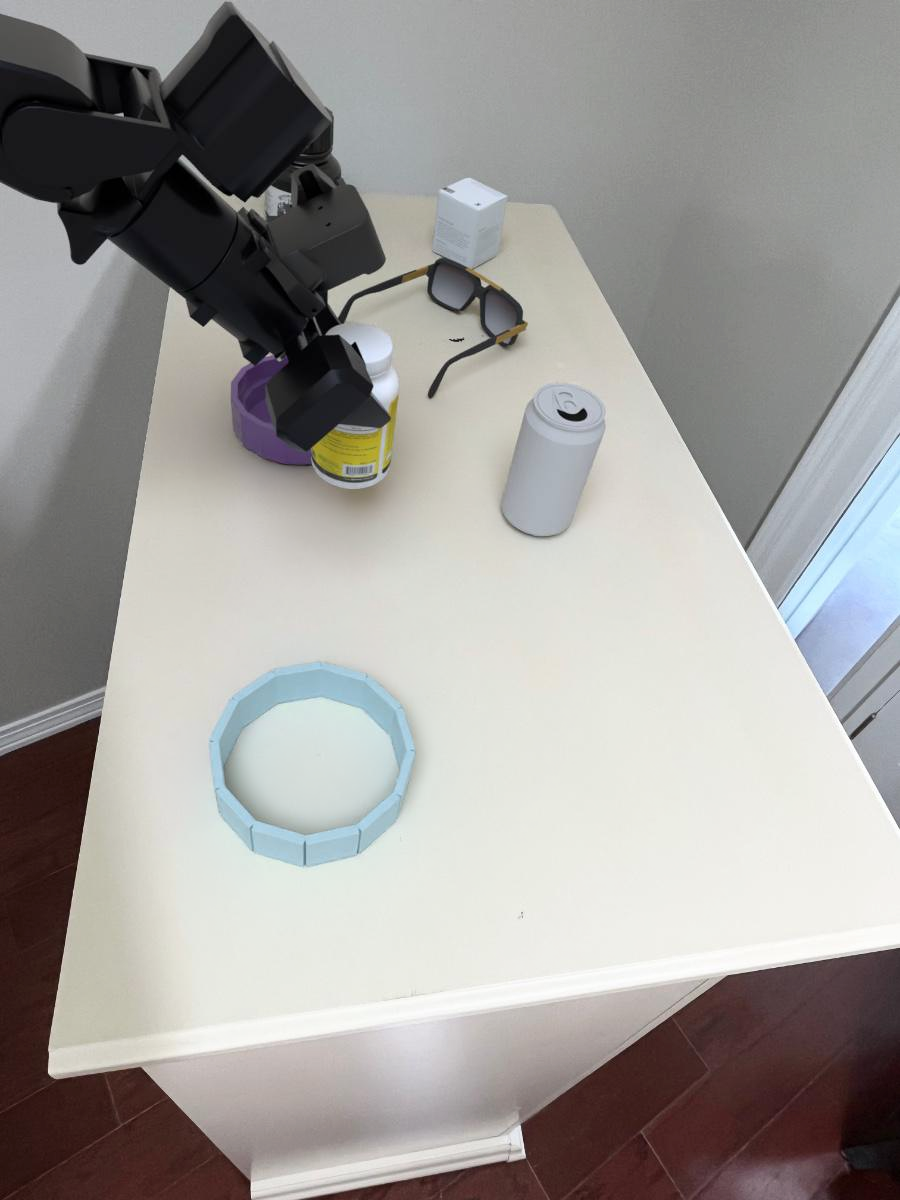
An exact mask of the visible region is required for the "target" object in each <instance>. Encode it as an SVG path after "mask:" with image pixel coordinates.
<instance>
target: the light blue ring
mask: <svg viewBox="0 0 900 1200" xmlns="http://www.w3.org/2000/svg"><path fill="white" fill-rule="evenodd" d="M319 697H321V698H324V699H328V700H331V701H334V702H338V703H343V704H345V705H349V706H352V707H356V708H358V709H361V710H362V711H363V712H365V713H366V714H367V715H368V716H369V717H370V718H371V719H372V720H373V721H374V722H375V723H376V724H377V725H378V726H379V727H381V729H382V730H383V731H385V732H386V733H387V734H388V736H389V737H390V739H391V744H392V747H393V751H394V754H395V759H396V761H397V762H396V763H397V766H398V769H399V771H398V774H397V777H396V781H395V784H394V787H393V791H392V793H390V794H389V795H388V796H387V797H385V798H384V799H383V800H382V801H381V802H380V803H379V804H378V805H376V806H375V808H373V809H372V810H371V811H370V812H369V813H368V814H366V815H365V816H364V817H363V818H362V819H360V820H359V821H358V822H357V823H355V824H351V825H347V826H342V827H337V828H333V829H328V830H324V831H323V830H322V831H319V832H314V833H309V834H307V835H306V834H303V833H300V832H296V831H294V830H290V829H286V828H283V827H279V826H276V825H273V824H268V823H265V822H262V821H259V820H257V819H256V818H254V816H253V815H252V814H251V813H250V812H249V810H247V809H246V807H244V805H243V804H242V803H241V802H240V801H239V800H238V799H237V797H236V796H235V795H233V793H232V792H231V791H230V790H229V789H228V788H227V785H226V778H225V777H226V776H225V769H224V768H225V765H226V763H227V762H228V759H229V757H230V755H231V752H232V750H233V748H234V746H235V744H236V742H237V740H238V738H239V736H240V735H241V732H242V730H243V729H244V728H245V727H247V726H248V725H250V724H251V723H252V722H254V721H255V720H257V719H258V718H259V717H260V716H262V715H264V714H265V713H266V712H267V711H269V710H271V709H272V708H273V707H274V706H276V705H277V704H284V703H290V702H295V701H303V700H309V699H312V698H319ZM413 739H414V738H413V735H412V732H411V729H410V724H409V722H408V719H407V715H406V711H405V709H404V707H402V704H401V703H400V702H399V701H398V700H397V699H396V698H394V696H393V695H392V694H390V692H388V691H387V690H386V689H385V688H384V687H383V686H382V685H381V684H380V683H378V681H376V680H375V679H374V678H373V677H372V676H371V675H368V674H367V673H365V672H362V671H358V670H354V669H351V668H347V667H344V666H340V665H336V664H333V663H329V662H326V661H322V662H321V661H315V662H307V663H301V664H295V665H288V666H282V667H276V668H273V671H272V670H271V669H270V670H269V671H267V672H266V673H264V674H263V675H261V676H259V678H257V679H255V680H254V681H252V682H251V683H249V684H248V685H246V686H245V687H244V688H242V689H241V690H239V691H237V693H235V694H233V695H232V696H231V698H229V699H228V702H227V704H226V705H225V708H224V709H223V711H222V713H221V716H220V717H219V719H218V721H217V723H216V725H215V727H214V729H213V731H212V733H211V735H210V737H209V739H208V741H209V742H208V749H209V757H210V766H211V773H212V774H211V775H212V782H213V790H214V794H215V800H216V805H217V809H218V813H219V814H220V818H222V820H223V821H224V822H225V823H226V824H227V825H228V826H229V827H230V829H231V830H232V831H233V832H234V834H236V836H237V837H238V838H239V839H240V840H241V841H242V842H243V843H244V844H245V846H247V848H248V849H249V850H250V851H253V852H254V853H253V854H255V855H256V854H257V855H260V856H263V857H266V858H270V859H273V860H277V861H279V862H280V861H281V862H284V863H286V864H291V865H294V866H297V867H301V868H304V867H306V868H309V867H314V866H318V865H322V864H326V863H331V862H335V861H339V860H340V861H341V860H343V859H344V860H345V859H348V858H352V857H353V858H354V857H356V856H357V855H358V854H359V855H360V854H362V853H363V852H364V851H365V850H366V849H367V848H368V847H369V846H371V845H372V844H373V843H374V842H375V841H376V840H377V839H379V837H380V836H381V835H383V834H384V833H385V832H386V831H387V830H388V829H390V827H391V826H393V825H394V824H395V823H396V820H398V818H399V814H400V811H401V808H402V806H403V805H402V804H403V801H404V798H405V794H406V792H407V788H408V784H409V782H410V778H411V773H412V769H413V765H414V761H415V756H416V746H415V743H414V740H413Z"/></svg>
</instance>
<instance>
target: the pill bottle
mask: <svg viewBox="0 0 900 1200" xmlns="http://www.w3.org/2000/svg"><path fill="white" fill-rule="evenodd" d="M326 335H340V336H341V337H342V338H344V339H345V340H346V341H347V342H348V343H349V344H350V345H352V344H353V343H354V342H356V343H357V346H358V348H359V350H360V352H361V355H362V357H363V359H364V362H365V364H366V369H367V372H368V374H369V376H370V379H371V381H372V383H373V385H374V387H373V389H372V393H373V394H374V395H375V396H376V398H377V399H378V400H379V401H380V403H381V404H382V405H383V407H384V408H385V409H386V411H387V412H388V413H389V415H390V417H391V420H390V421H389V422H388V423H387V424H386V425H385V426H383V427H382V428H373V427H363V426H353V425H343V424H339V425H337V426H336V427H335V428H334V429H333V430H332V431H331V432H329V433H328V434H327V435H326V436H325V437H324V438H322V439H321V440H320V441H319V442H318V443H317V444H315V445H314V446H313V447H312V448H311V461H312V464H311V465H312V467H313V470H314V471H315V472H316V474H317V475H318V476H319V477H320V478H321V479H323V481H325V482H327V483H328V484H331V485H333V486H335V487H338V488H341V489H346V490H358V489H365V488H369V487H371V486H375V485H376V484H378V483H379V482H381V481H382V480H383V479H384V478H385V477H386V476H387V474H388V473H389V471H390V468H391V463H392V454H393V446H394V437H395V430H396V420H397V419H396V418H397V412H398V411H397V410H398V403H399V394H400V379H399V375H398V372H397V371H396V369H395V367H394V366H393V365H392V362H393V352H394V344H393V343H394V342H393V341H392V338H391V337H390V335H389V334H388V333H386V331H385V330H383V329H381V328H379V327H377V326H375V325H372V324H369V323H364V322H363V323H362V322H345V323H344V324H340V325H337V326H335V327H333V328H331V329H330V330H329V331H328V332H327V333H326Z"/></svg>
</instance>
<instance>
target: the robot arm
mask: <svg viewBox="0 0 900 1200" xmlns="http://www.w3.org/2000/svg"><path fill="white" fill-rule="evenodd" d="M324 106H325V105H324V104H323V103H322V101H321V100H320V99H319V96H318V95H317V94H316V93H315V91H314V90H313V89H312V87H311V86H310V85H309V83H308V82H307V81H306V79H305V78H304V77H303V75H302V74H301V73H300V72H299V70H298V69H297V68H296V66H295V65H294V64H293V63H292V62H291V60H290V59H289V58H288V57H287V55H286V54H285V53H284V51H283V50H282V49H281V48H280V47H279V46H278V45H277V43H276V42H275V41H274V40H272V41H271V42H270V41H269V40H268V39H267V38H266V37H265V36H264V35H263V33H262V32H261V31H260V30H259V29H258V28H257V27H256V26H255V25H254V24H252V22H251V21H249V20H247V19H246V18H245V17H244V15H243V14H242V13H241V12H240V11H239V10H238V8H237V7H236V6H235V5H234V3H233V2H231V1H225V0H224V2H223V3H222V4H221V5H220V7H219V8H218V9H217V10H216V11H215V13H214V14H212V16H211V17H210V18H209V20H208V22H207V24H206V25H205V28H204V30H203V32H202V34H201V36H200V37H199V38H198V40H196V42H195V43H194V44H193V46H192V47H191V48H190V49H189V50H188V52H187V53H186V54H185V55H184V56H183V57H182V58H181V60H180V61H179V62H178V63H177V64H176V66H175V67H174V68H173V69H172V70H171V71H170V72H169V73H168V74H167V76H166V77H165V78H164V79H162V76H161V73H160V72H159V70H158V69H157V68H156V67H154V66H150V65H145V64H140V63H136V62H130V61H126V60H121V59H116V58H111V57H106V56H102V55H101V56H100V55H96V54H91V53H86V52H84V51H82V50H81V48H79V46H77V45H76V44H75V43H74V42H73V41H72V40H71V39H69V38H67V37H66V36H64V35H63V34H61V33H60V32H58V30H55V29H53V28H50V27H48V26H44V25H42V24H39V23H34V22H32V21H28V20H25V19H21V18H17V17H13V16H10V15H6V14H4V13H0V183H1V184H3V185H5V186H7V187H9V188H10V189H12V190H14V191H16V192H18V193H20V194H22V195H24V196H27V197H29V198H32V199H34V200H37V201H42V202H47V203H53V204H56V211H57V216H58V217H59V219H60V221H61V223H62V225H63V227H64V229H65V232H66V236H67V240H68V245H69V255H70V260H71V262H72V263H74V264H76V265H78V266H81V265H85V264H86V263H87V262H88V261H89V259H90V258H91V257H92V256H94V254H95V253H96V252H97V251H98V250H99V248H100V247H101V246H102V245H103V244H104V243H105V242H106V241H107V240H108V241H109V242H111V243H112V244H113V245H115V246H116V247H117V248H118V249H120V250H122V252H124V253H125V254H126V255H128V256H129V257H130V258H132V259H133V260H134V261H135V262H137V263H138V264H139V265H141V266H142V267H143V268H144V269H146V270H147V271H148V272H150V273H151V274H152V275H153V276H155V277H156V278H157V279H159V280H160V281H161V282H163V283H164V284H165V285H167V286H168V287H169V288H170V289H171V290H173V291H174V292H175V293H177V294H178V295H179V296H181V297H182V298H183V299H185V304H186V307H187V311H188V316H189V318H190V319H192V320H193V321H195V322H196V323H197V324H198V325H200V326H201V327H202V328H204V327H206V325H207V324H208V323H210V322H211V321H213V322H215V323H216V324H217V325H218V326H219V327H221V328H222V329H224V330H225V332H227V333H228V334H230V335H231V336H233V337H234V338H235V339H236V340H237V341H238V344H239V349H240V351H241V354H242V358H244V359H245V360H246V361H248V362H249V364H250V363H252V364H253V365H254V366H256V365H257V364H258V363H259V362H260V361H261V360H262V359H263V358H265V357H267V356H269V354H271V356H272V355H274V358H275V359H276V360H277V361H279V362H280V361H282V360H283V359H284V358H285V357H286V356H287V359H288V361H289V362H288V363H287V364H286V365H285V366H284V367H283V368H282V369H281V370H280V371H279V372H277V373H276V374H275V375H274V376H273V377H272V378H271V379H270V380H269V381H268V382H267V383H266V384H265V395H266V404H267V407H268V411H269V414H270V417H271V421H272V424H273V427H274V430H275V434H276V437H278V438H279V439H280V440H282V441H283V442H285V443H286V444H288V445H289V446H291V447H292V448H294V449H295V450H297V451H298V452H307V451H308V450H310V449H311V448H312V447H313V446H314V445H315V444H317V443H318V442H319V441H320V440H321V439H322V438H324V437H325V436H326V435H327V434H328V433H329V432H331V431H332V430H333V429H334V428H335V427H336V426H337V425H339V424H343V425H353V426H363V427H373V428H382V427H383V426H385V425H386V424H387V423H388V422H389V421H390V420H391V417H390V415H389V413H388V412H387V411H386V409H385V408H384V407H383V405H382V404H381V403H380V401H379V400H378V399H377V398H376V396H375V395H374V394H373V393H372V389H373V387H374V385H373V383H372V381H371V379H370V376H369V374H368V372H367V369H366V364H365V362H364V359H363V357H362V355H361V352H360V350H359V348H358V346H357V343H356V342H354V343H353V344H352V345H350V344H349V343H348V342H347V341H346V340H345V339H344V338H342V337H341V336H340V335H326V333H327V332H328V331H329V330H330V329H331V328H333V327H335V326H337V325H340V324H341V323H340V321H339V319H338V316H337V314H336V313H335V312H334V310H333V308H332V307H331V306H330V304H329V291H330V290H332V289H334V288H337V287H338V286H339V287H340V286H341V285H343V284H345V283H347V282H350V281H351V280H354V279H356V278H358V277H360V276H362V275H367V276H369V275H372V274H374V273H376V272H378V271H379V270H381V269H382V268H383V267H384V265H385V264H386V260H387V258H386V255H385V252H384V249H383V246H382V245H381V241H380V239H379V236H378V233H377V231H376V227H375V226H374V223H373V220H372V217H371V214H370V212H369V210H368V207H367V206H366V204H365V202H364V201H363V198H362V197H361V194H360V193H359V190H358V189H357V188H356V186H355V185H353V184H350V183H346V181H345V179H344V178H343V177H341V179H339V180H337V182H338V185H339V186H336V185H335V184H334V182H333V181H332V180H331V179H330V178H329V177H328V176H327V175H326V174H325V173H323V172H322V171H321V170H320V169H319V168H318V167H316V166H315V165H314V164H309V165H307V166H305V167H302V168H300V169H298V170H296V171H294V172H293V173H292V184H291V202H292V205H293V207H292V208H291V207H290V205H289V203H288V204H285V205H283V207H284V210H285V212H286V213H285V214H284V215H282V216H269V217H268V218H267V217H266V219H264V218H263V217H262V216H261V215H260V214H259V213H258V212H257V211H256V210H255V209H254V208H251V209H250V210H248V209H246V208H245V207H244V206H242V207H241V208H240V209H239V210H238V211H236V209H234V208H233V207H232V206H231V205H230V204H229V203H228V202H227V201H225V200H224V199H223V197H221V195H219V194H218V193H217V192H216V191H215V190H214V189H213V188H212V187H211V186H210V185H209V184H207V182H205V180H207V181H208V182H209V183H210V184H211V185H212V186H213V187H214V188H216V190H218V191H219V192H220V193H222V194H223V195H225V196H227V197H232V196H233V195H234V196H235V197H236V198H237V199H239V200H240V201H242V202H244V203H246V202H248V200H249V199H250V198H251V197H253V198H257V199H258V198H260V197H262V195H264V192H265V191H266V190H267V189H268V188H269V187H270V186H271V185H272V184H273V183H274V181H275V180H276V179H277V178H278V177H279V176H280V175H281V174H282V173H283V172H284V171H285V170H286V169H287V168H288V167H289V166H290V165H291V164H292V163H293V162H294V161H295V160H296V159H297V158H298V157H299V156H300V155H301V154H302V153H303V152H304V150H305V149H306V148H307V147H308V146H309V145H310V144H311V143H312V142H313V141H314V140H315V139H316V138H317V137H318V136H319V135H320V134H321V133H322V132H323V131H324V130H325V129H326V128H327V127H328V126H329V125H330V124H331V123H332V122H333V121H332V118H331V117H330V115H329V113H328V112H327V110H326V109H325V107H326V106H325V107H324ZM121 114H122V115H121ZM182 156H183V157H184V158H185V159H186V160H188V162H189V163H190V164H192V166H193V167H194V168H195V169H196V170H197V171H198V172H199V173H200V174H201V176H202V177H203V178H204V179H205V180H203V179H202V178H201V177H200V176H199V175H198V174H196V172H194V170H192V168H190V167H189V166H188V165H187V164H186V163H185V162H184V161H183V160H182V159H181V157H182Z"/></svg>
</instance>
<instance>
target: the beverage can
mask: <svg viewBox="0 0 900 1200" xmlns="http://www.w3.org/2000/svg"><path fill="white" fill-rule="evenodd" d="M533 394H534V395H533V397H532V399H530V400H529V401H528V403H527V404H526V406H525V408H524V412H523V417H522V421H521V424H520V429H519V432H518V436H517V438H516V439H517V440H516V444H515V448H514V451H513V455H512V459H511V462H510V466H509V471H508V474H507V478H506V482H505V486H504V490H503V492H502V497H501V501H500V507H501V511H502V514H503V515H504V517H505V520H507V521H508V522H509V523H510V525H512V526H513V527H514V528H516V529H518V530H519V531H521V532H523V533H525V534H526V535H527V534H528V535H530V536H534V537H548V536H549V537H550V536H554V535H558V534H561V533H562V532H565V531H566V530H567V529H568V528H569V527H570V525H571V524H572V522H573V519H574V517H575V514H576V511H577V509H578V505H579V503H580V500H581V497H582V494H583V491H584V489H585V486H586V483H587V481H588V479H589V476H590V472H591V471H592V468H593V465H594V461H595V459H596V457H597V453H598V451H599V448H600V446H601V442H602V440H603V437H604V434H605V431H606V429H607V427H606V426H607V425H606V421H605V417H606V412H607V411H606V406H605V405H604V402H603V401H602V400H601V399H600V397H598V396H597V395H596V394H595V393H593V391H590V390H589V389H587V388H585V387H582V386H581V385H577V384H573V383H568V382H552V383H547V384H544V385H542V386H541V387H539V388H538V389H537V390H536V391H535V393H533Z"/></svg>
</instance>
